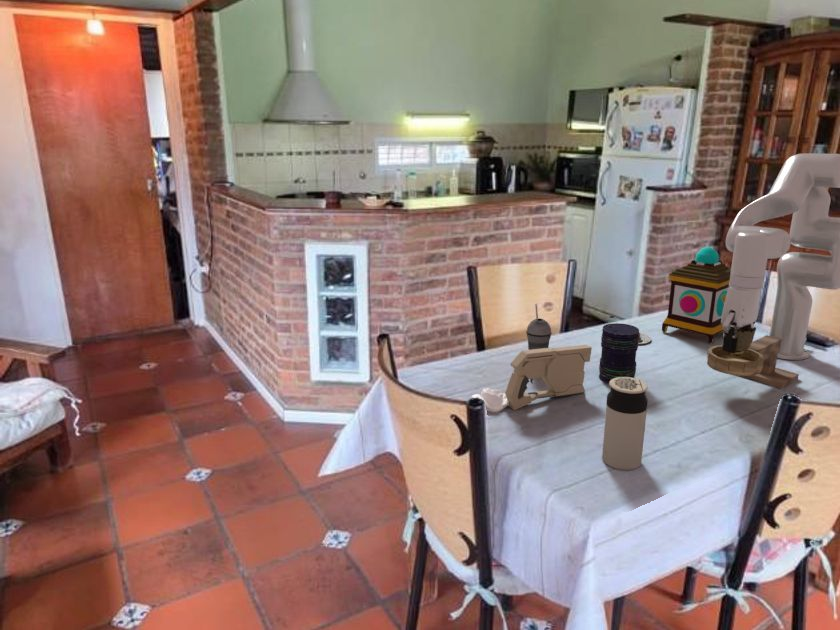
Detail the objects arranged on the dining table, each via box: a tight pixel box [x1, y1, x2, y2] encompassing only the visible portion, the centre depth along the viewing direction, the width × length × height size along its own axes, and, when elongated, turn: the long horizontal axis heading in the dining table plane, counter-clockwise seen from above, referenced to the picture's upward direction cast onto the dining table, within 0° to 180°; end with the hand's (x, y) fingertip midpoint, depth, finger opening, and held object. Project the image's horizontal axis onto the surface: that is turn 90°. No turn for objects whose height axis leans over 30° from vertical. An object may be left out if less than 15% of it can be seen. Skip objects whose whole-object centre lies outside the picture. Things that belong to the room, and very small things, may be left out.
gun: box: [504, 344, 593, 411], centre depth 153 cm, size 24×3×15 cm, turn 115°
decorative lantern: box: [661, 246, 731, 345], centre depth 197 cm, size 20×20×30 cm
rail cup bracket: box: [706, 334, 799, 389], centre depth 159 cm, size 30×14×12 cm, turn 127°
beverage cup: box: [526, 303, 552, 350], centre depth 172 cm, size 7×7×20 cm
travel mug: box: [601, 377, 649, 471], centre depth 123 cm, size 8×8×18 cm
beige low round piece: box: [638, 332, 652, 346], centre depth 197 cm, size 12×12×5 cm
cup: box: [722, 323, 757, 357], centre depth 151 cm, size 8×7×8 cm
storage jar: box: [598, 315, 640, 385], centre depth 164 cm, size 10×10×18 cm
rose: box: [471, 387, 509, 413], centre depth 152 cm, size 10×4×10 cm
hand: (736, 347), depth 152 cm, fingers closed on cup, 6 cm apart
